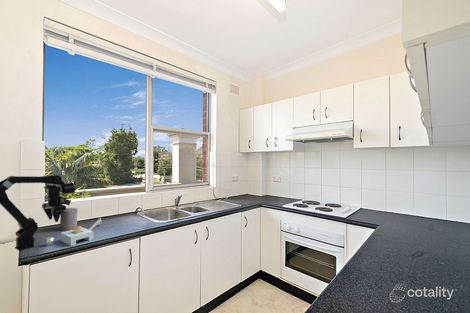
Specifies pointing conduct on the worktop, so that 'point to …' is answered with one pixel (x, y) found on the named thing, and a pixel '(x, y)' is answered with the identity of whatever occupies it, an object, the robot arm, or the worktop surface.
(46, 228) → the worktop surface
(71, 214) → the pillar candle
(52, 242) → the aluminium pin
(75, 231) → the maple pin
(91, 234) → the bridge jig
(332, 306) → the worktop surface
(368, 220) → the worktop surface
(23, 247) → the robot arm
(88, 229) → the caliper
